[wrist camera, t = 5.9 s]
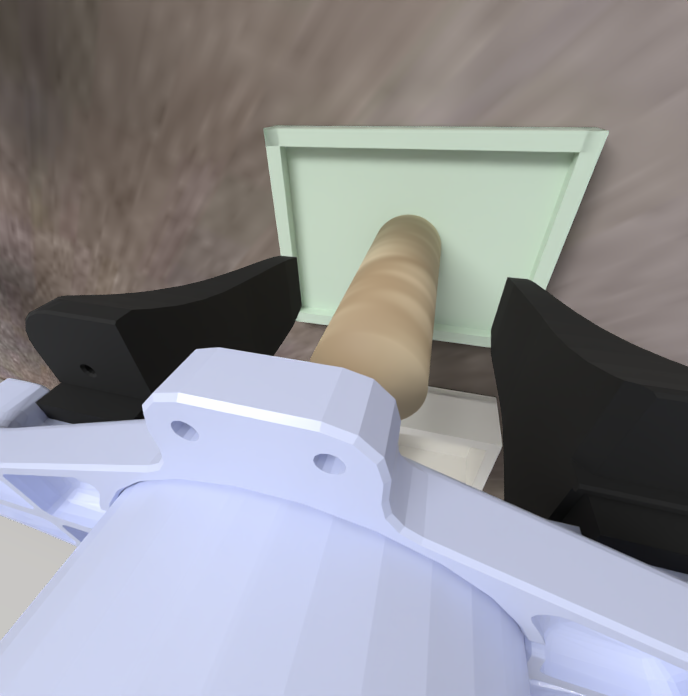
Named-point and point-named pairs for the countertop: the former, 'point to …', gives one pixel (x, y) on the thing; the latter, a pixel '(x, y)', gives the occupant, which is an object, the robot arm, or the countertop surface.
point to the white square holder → (454, 435)
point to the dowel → (390, 313)
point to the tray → (429, 207)
